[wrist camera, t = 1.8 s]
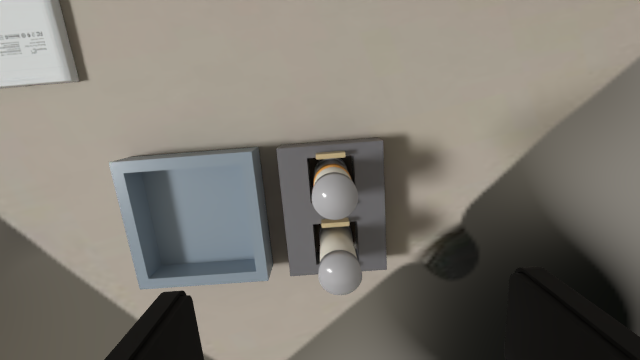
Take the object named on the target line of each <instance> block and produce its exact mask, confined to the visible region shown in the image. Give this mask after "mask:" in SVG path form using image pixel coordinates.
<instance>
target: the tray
mask: <svg viewBox="0 0 640 360" xmlns="http://www.w3.org/2000/svg"><path fill="white" fill-rule="evenodd" d="M109 166H110V170H111V174H112V178H113V182H114V186H115V190H116V194H117V198H118V202H119V206H120V210H121V214H122V218H123V223H124V227H125V231H126V235H127V239H128V243H129V247H130V251H131V255H132V259H133V263H134V267H135V271H136V275H137V280H138V284H139V288H140V289H154V288H168V287H183V286H197V285H212V284H226V283H241V282H255V281H268V280H269V277H270V273H271V270H272V267H273V258H272V250H271V242H270V234H269V226H268V218H267V210H266V202H265V194H264V186H263V178H262V170H261V162H260V154H259V147H250V148H237V149H224V150H211V151H198V152H185V153H172V154H159V155H146V156H133V157H128V158H124V159H120V160H116V161H113V162H109Z"/></svg>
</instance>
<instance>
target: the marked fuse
mask: <svg viewBox="0 0 640 360" xmlns="http://www.w3.org/2000/svg"><path fill="white" fill-rule="evenodd" d="M313 185H314V186H313V190H312V204H313V206H314V208H315V210H316V211H317V212H318V213H319V214H320V215H321V216H323V217H324V218H327V219H331V220H338V219H343V218H345V217H347V216H348V215H350V214H351V213H352V212H353V211H354V209H355V208H356V206H357V203H358V192H357V189H356V187H355V184H354V183H353V181H352V179H351V177H350V175H349V172H348V169H347V166H346V164H345V163H344V162H343V161H342V160H341V159H339V158H330V159H321V160H320V161H319V162H318V163H317V164H316V166H315V169H314V184H313Z"/></svg>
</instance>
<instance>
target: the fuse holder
mask: <svg viewBox="0 0 640 360" xmlns="http://www.w3.org/2000/svg"><path fill="white" fill-rule="evenodd" d="M276 151H277V160H278V169H279V178H280V187H281V196H282V205H283V214H284V223H285V232H286V240H287V249H288V258H289V267H290V276H300V275H314V274H319V263H320V252H317V251H316V240H315V228H314V224H321V226H322V228H329V227H343V226H349V222H352V221H355V235H356V249H355V252H356V256H357V259H358V261H359V263H360V267H361V271H372V270H387V260H386V224H385V189H384V153H383V140H381V139H379V138H366V139H353V140H340V141H327V142H314V143H301V144H288V145H280V146H279V147H278V148H277V149H276ZM345 155H351V160H352V178H353V183H354V184H355V187H356V189H357V192H358V203H357V206H356V208H355V209H354V211H353V212H352V213H351V214H350V215H348V216H347V217H345V218H343V219H338V220H331V219H327V218H324V217H323V216H321V215H320V214H319V213H318V212H317V211H316V210H315V208H314V206H313V204H312V194H311V182H310V171H309V160H308V158H316V160H317V159H330V158H343V157H345Z"/></svg>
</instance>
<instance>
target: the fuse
mask: <svg viewBox="0 0 640 360" xmlns="http://www.w3.org/2000/svg"><path fill="white" fill-rule="evenodd" d="M319 240H320V263H319V274H318V276H319V282H320V284H321V286H322V287H323V288H324V289H325V290H326V291H327V292H329V293H331V294H334V295H346V294H349V293H351V292H353V291H354V290H355V289H357V287H358V286H359V285H360V283H361V280H362V271H361V267H360V263H359V261H358V259H357V256H356V252H355V248H354V244H353V240H352V231H351V227H350V225H349V226H343V227H329V228H322V226H320V228H319Z"/></svg>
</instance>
